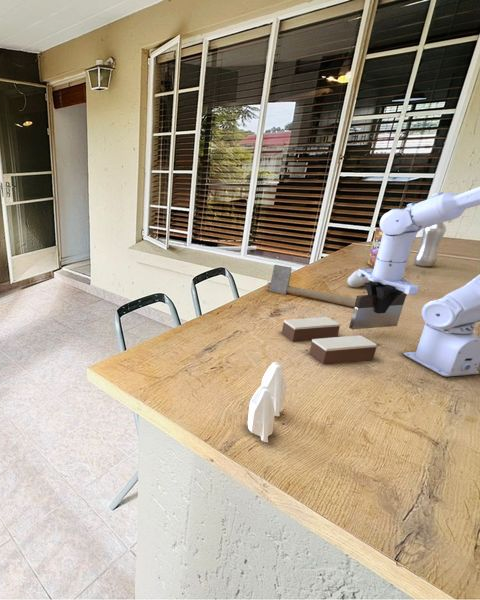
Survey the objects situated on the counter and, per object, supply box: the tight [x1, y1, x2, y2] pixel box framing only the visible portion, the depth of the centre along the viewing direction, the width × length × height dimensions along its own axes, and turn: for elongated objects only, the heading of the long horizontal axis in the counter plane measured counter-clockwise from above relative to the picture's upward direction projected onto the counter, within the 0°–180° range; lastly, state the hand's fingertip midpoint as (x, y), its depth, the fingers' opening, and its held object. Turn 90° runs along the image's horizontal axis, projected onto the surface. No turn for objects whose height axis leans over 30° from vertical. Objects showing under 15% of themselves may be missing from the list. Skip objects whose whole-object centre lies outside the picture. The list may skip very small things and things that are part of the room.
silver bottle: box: [413, 222, 447, 267], centre depth 138 cm, size 6×7×20 cm
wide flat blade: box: [348, 292, 408, 331], centre depth 89 cm, size 1×12×9 cm, turn 93°
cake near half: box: [309, 334, 378, 365], centre depth 82 cm, size 5×12×4 cm, turn 94°
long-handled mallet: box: [266, 264, 356, 308], centre depth 114 cm, size 10×2×30 cm
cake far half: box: [281, 316, 341, 342], centre depth 92 cm, size 5×12×4 cm, turn 94°
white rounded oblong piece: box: [346, 268, 374, 288], centre depth 125 cm, size 6×6×15 cm
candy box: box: [367, 227, 383, 268], centre depth 141 cm, size 9×4×15 cm, turn 160°
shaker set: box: [246, 361, 287, 443], centre depth 62 cm, size 12×4×11 cm, turn 139°
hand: (377, 311), depth 89 cm, fingers closed on wide flat blade, 1 cm apart
